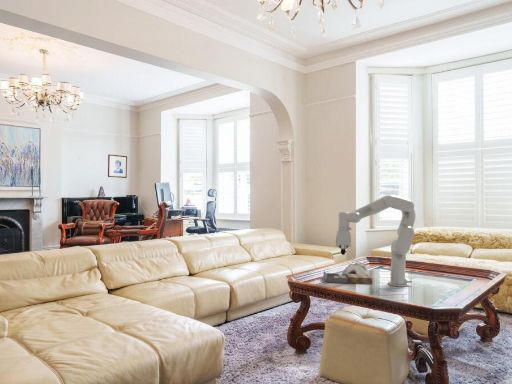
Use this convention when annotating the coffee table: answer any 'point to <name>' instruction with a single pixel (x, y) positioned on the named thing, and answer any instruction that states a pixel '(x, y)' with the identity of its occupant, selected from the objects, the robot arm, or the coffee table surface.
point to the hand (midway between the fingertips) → (343, 254)
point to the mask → (356, 268)
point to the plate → (359, 278)
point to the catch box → (334, 278)
